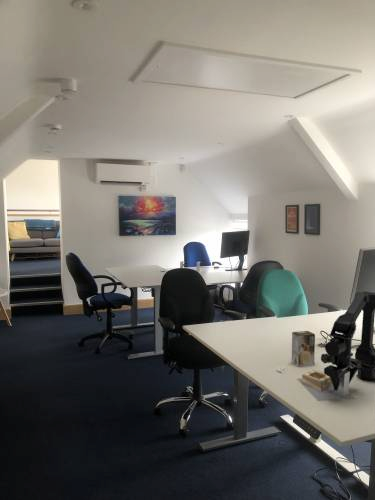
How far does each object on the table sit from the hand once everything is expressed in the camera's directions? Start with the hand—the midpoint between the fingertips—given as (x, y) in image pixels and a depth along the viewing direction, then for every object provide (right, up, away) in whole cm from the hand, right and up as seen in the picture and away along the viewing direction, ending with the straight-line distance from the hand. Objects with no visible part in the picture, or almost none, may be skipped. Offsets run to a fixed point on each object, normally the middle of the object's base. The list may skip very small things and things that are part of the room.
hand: (341, 387), depth 164 cm
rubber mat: (-5, -3, +6) cm, 8 cm away
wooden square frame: (-7, -2, +10) cm, 12 cm away
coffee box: (-6, -1, +33) cm, 34 cm away
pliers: (-21, -2, +20) cm, 29 cm away
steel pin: (0, -3, 0) cm, 3 cm away
